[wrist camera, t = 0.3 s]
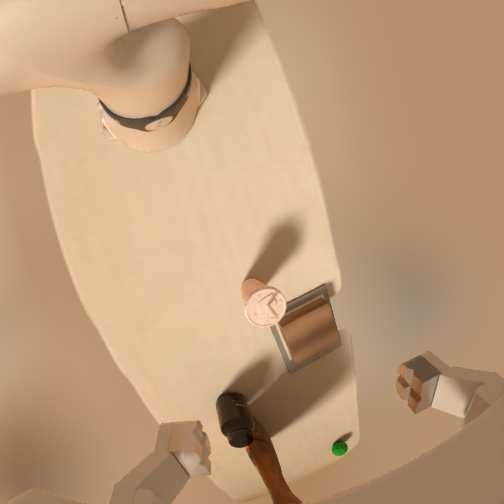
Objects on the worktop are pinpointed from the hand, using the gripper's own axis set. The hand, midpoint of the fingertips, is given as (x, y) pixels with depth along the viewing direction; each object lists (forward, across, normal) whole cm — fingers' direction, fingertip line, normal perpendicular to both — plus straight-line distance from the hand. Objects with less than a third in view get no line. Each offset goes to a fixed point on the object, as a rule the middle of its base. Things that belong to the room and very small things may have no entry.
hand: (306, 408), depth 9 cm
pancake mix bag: (+39, +6, +45) cm, 60 cm away
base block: (+40, -9, +20) cm, 46 cm away
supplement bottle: (+38, +9, +34) cm, 52 cm away
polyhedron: (+43, -16, +68) cm, 82 cm away
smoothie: (+39, 0, +8) cm, 40 cm away
